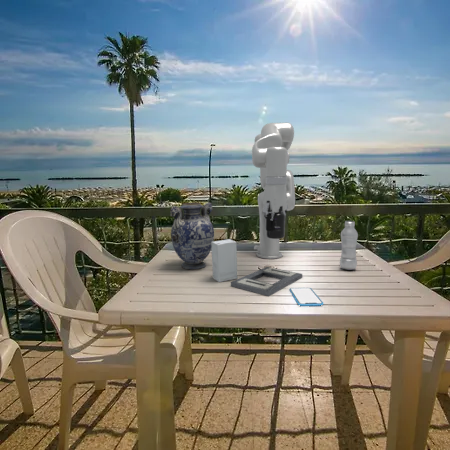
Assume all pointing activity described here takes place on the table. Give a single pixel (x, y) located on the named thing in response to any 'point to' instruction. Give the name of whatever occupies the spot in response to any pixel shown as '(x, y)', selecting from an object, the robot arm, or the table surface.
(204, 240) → the decorative vase
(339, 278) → the table surface
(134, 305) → the table surface
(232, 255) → the skincare box
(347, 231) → the plastic bottle
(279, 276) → the label panel
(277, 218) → the supplement bottle
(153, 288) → the table surface
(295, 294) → the smartphone
